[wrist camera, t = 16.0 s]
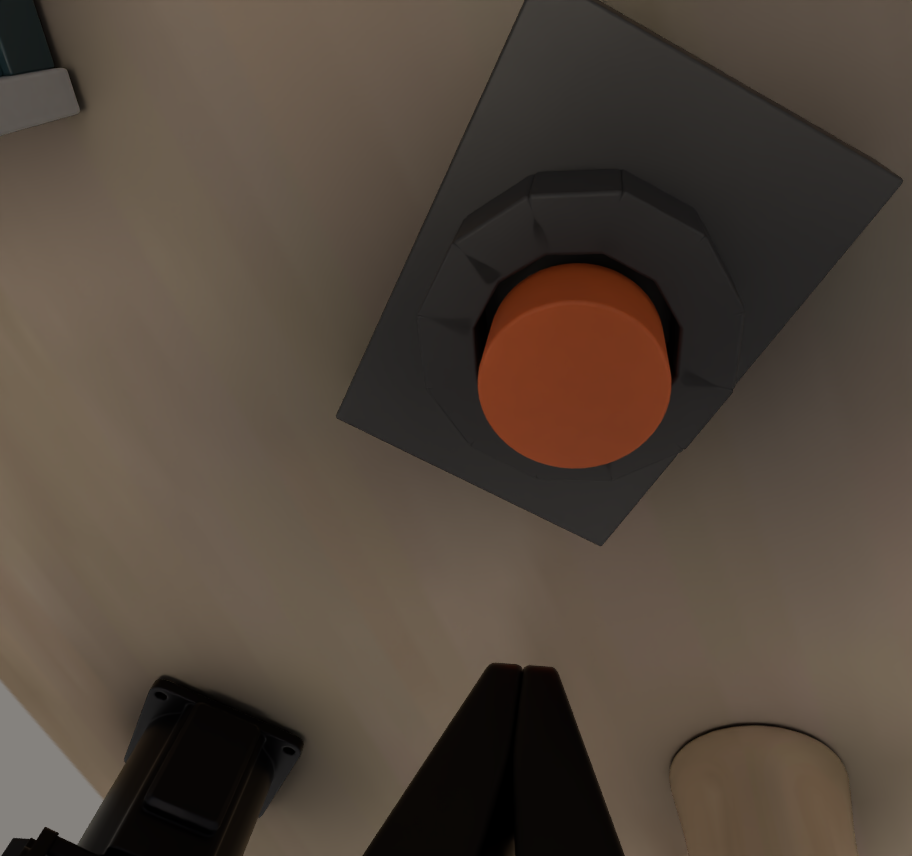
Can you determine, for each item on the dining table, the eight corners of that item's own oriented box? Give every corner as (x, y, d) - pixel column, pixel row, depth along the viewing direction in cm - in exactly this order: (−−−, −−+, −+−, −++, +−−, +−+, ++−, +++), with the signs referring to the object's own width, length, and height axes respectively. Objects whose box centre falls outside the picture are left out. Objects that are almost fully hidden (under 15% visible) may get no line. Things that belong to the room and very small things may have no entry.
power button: (603, 443, 17) (604, 497, 15) (462, 371, 16) (446, 419, 14) (699, 313, 15) (713, 359, 13) (540, 229, 14) (533, 265, 13)
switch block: (600, 509, 21) (601, 595, 18) (352, 386, 21) (312, 457, 18) (877, 161, 15) (943, 206, 12) (544, -32, 15) (531, -31, 12)
